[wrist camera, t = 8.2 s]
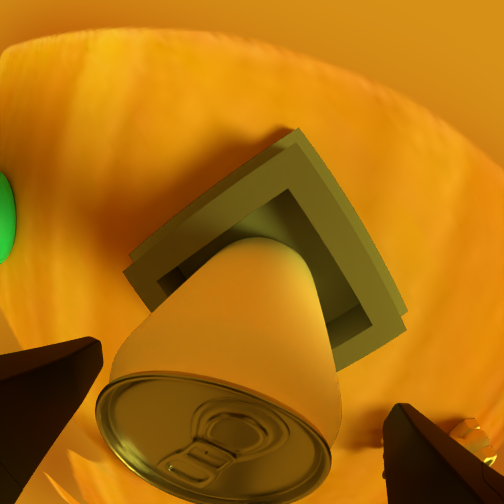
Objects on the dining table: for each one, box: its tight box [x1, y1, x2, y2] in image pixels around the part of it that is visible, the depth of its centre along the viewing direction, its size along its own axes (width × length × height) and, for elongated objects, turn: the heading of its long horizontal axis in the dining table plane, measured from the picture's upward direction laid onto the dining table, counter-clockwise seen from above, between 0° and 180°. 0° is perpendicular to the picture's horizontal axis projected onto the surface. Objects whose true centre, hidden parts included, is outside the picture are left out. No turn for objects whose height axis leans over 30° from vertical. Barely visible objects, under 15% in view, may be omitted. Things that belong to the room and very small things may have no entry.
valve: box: [382, 418, 497, 479], centre depth 16 cm, size 7×7×12 cm
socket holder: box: [123, 128, 408, 372], centre depth 15 cm, size 13×13×4 cm
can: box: [95, 237, 342, 504], centre depth 11 cm, size 6×6×12 cm
